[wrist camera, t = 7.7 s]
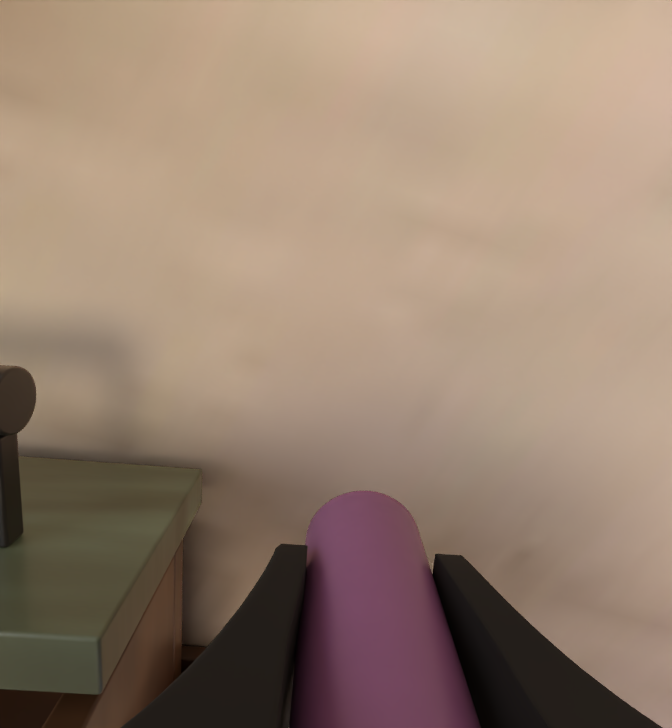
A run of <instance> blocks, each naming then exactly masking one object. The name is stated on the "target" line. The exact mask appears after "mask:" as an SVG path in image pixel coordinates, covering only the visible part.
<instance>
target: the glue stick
mask: <svg viewBox="0 0 672 728" xmlns="http://www.w3.org/2000/svg"><path fill="white" fill-rule="evenodd" d="M305 545H307V546H308V549H307V562H306V575H305V588H304V600H303V606H302V612H301V618H300V624H299V630H298V637H297V645H296V654H295V665H294V677H293V688H292V699H291V710H290V722H289V728H481V726H480V723H479V719H478V716H477V713H476V710H475V707H474V704H473V701H472V697H471V694H470V691H469V688H468V685H467V682H466V679H465V675H464V672H463V669H462V666H461V663H460V660H459V657H458V653H457V650H456V647H455V644H454V641H453V638H452V635H451V632H450V628H449V625H448V622H447V619H446V616H445V613H444V610H443V606H442V603H441V600H440V597H439V594H438V591H437V588H436V584H435V581H434V578H433V575H432V572H431V569H430V566H429V562H428V559H427V556H426V553H425V550H424V547H423V544H422V541H421V537H420V534H419V531H418V528H417V525H416V523H415V520H414V519H413V517H412V515H411V514H410V512H409V511H408V510H407V509H406V508H405V507H404V506H403V505H402V504H401V503H399V502H398V501H397V500H395V499H393V498H391V497H390V496H387V495H385V494H382V493H378V492H373V491H353V492H349V493H345V494H342V495H339V496H337V497H335V498H333V499H331V500H330V501H329V502H327V503H326V504H325V505H323V506H322V507H321V508H320V509H319V510H318V511H317V513H316V514H315V515H314V517H313V518H312V520H311V522H310V524H309V527H308V530H307V534H306V542H305Z"/></svg>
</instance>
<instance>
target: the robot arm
mask: <svg viewBox="0 0 672 728" xmlns="http://www.w3.org/2000/svg"><path fill="white" fill-rule="evenodd" d="M307 549H308V546H307V545H292V544H280V545H279V546H278V547H277V548H276V549H275V552H274V554H273V556H272V558H271V560H270V562H269V564H268V565H267V567H266V569H265V571H264V572H263V574H262V575H261V577H260V579H259V580H258V582H257V583H256V585H255V586H254V588H253V589H252V591H251V592H250V593H249V595H248V596H247V598H246V599H245V601H244V602H243V604H242V605H241V606H240V608H239V609H238V610H237V611H236V613H235V614H234V615H233V616H232V618H231V619H230V620H229V622H228V623H227V624H226V625H225V627H224V628H223V629H222V630H221V632H220V633H219V634H218V635H217V636H216V638H215V639H214V640H213V641H212V642H211V643H210V644H209V646H208V647H207V648H206V649H205V650H204V651H203V652H202V653H201V654H200V655H199V656H198V657H197V658H196V660H195V661H194V662H193V663H192V664H191V665H190V666H189V667H188V668H187V669H186V670H185V671H184V672H183V673H182V674H181V675H180V676H179V677H178V678H177V679H176V680H174V681H173V682H172V683H171V684H170V685H169V686H168V687H167V688H166V689H165V690H164V691H163V692H162V693H161V694H160V695H159V696H158V697H156V698H155V699H154V700H153V701H152V702H151V703H150V704H149V705H147V706H146V707H145V708H144V709H143V710H142V711H140V712H139V713H138V714H137V715H135V716H134V717H133V718H132V719H130V720H129V721H128V722H127V723H126V724H124V725H123V726H122V727H121V728H288V727H289V722H290V710H291V699H292V688H293V677H294V665H295V654H296V645H297V637H298V630H299V624H300V618H301V612H302V606H303V600H304V588H305V575H306V562H307ZM433 578H434V581H435V584H436V588H437V591H438V594H439V597H440V600H441V603H442V606H443V610H444V613H445V616H446V619H447V622H448V625H449V628H450V632H451V635H452V638H453V641H454V644H455V647H456V650H457V653H458V657H459V660H460V663H461V666H462V669H463V672H464V675H465V679H466V682H467V685H468V688H469V691H470V694H471V697H472V701H473V704H474V707H475V710H476V713H477V716H478V719H479V723H480V726H481V728H662V727H661V726H659V725H658V724H656V723H655V722H653V721H652V720H650V719H649V718H647V717H646V716H644V715H643V714H641V713H640V712H638V711H637V710H636V709H634V708H633V707H631V706H630V705H629V704H627V703H626V702H625V701H623V700H622V699H620V698H619V697H618V696H616V695H615V694H614V693H612V692H611V691H610V690H608V689H607V688H606V687H605V686H603V685H602V684H601V683H599V682H598V681H597V680H596V679H594V678H593V677H592V676H590V675H589V674H588V673H586V672H585V671H584V670H583V669H581V668H580V667H579V666H578V665H577V664H575V663H574V662H573V661H572V660H570V659H569V658H568V657H567V656H566V655H565V654H563V653H562V652H561V651H560V650H559V649H558V648H557V647H555V646H554V645H553V644H552V643H551V642H550V641H549V640H548V639H546V638H545V637H544V636H543V635H542V634H541V633H540V632H539V631H538V630H536V629H535V628H534V627H533V626H532V625H531V624H530V623H529V622H528V621H527V620H526V619H525V618H524V617H523V616H522V615H521V614H519V613H518V612H517V611H516V610H515V609H514V608H513V607H512V606H511V605H510V604H509V603H508V602H507V601H506V600H505V599H504V598H503V597H502V596H501V595H500V594H499V593H498V592H497V591H496V590H495V589H494V588H493V587H492V586H491V585H490V584H489V582H488V581H487V580H486V579H485V578H484V577H483V576H482V575H481V574H480V573H479V572H478V571H477V570H476V569H475V568H474V567H473V566H472V565H471V564H470V563H469V562H468V561H467V560H466V559H465V558H464V557H463V556H461V555H445V554H435V561H434V568H433Z"/></svg>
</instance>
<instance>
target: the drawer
mask: <svg viewBox="0 0 672 728" xmlns="http://www.w3.org/2000/svg"><path fill="white" fill-rule="evenodd" d="M35 403H36V387H35V383H34V380H33V377H32V376H31V374H30V373H29V372H28V371H27V370H25V369H24V368H22V367H17V366H5V365H0V728H121V727H122V726H123V725H124V724H126V723H127V722H128V721H129V720H130V719H132V718H133V717H134V716H135V715H137V714H138V713H139V712H140V711H142V710H143V709H144V708H145V707H146V706H147V705H149V704H150V703H151V702H152V701H153V700H154V699H155V698H156V697H158V696H159V695H160V694H161V693H162V692H163V691H164V690H165V689H166V688H167V687H168V686H169V685H170V684H171V683H172V682H173V681H174V680H176V679H177V678H178V677H179V676H180V675H181V649H182V576H183V537H184V535H185V533H186V532H187V530H188V528H189V526H190V524H191V522H192V520H193V518H194V516H195V514H196V513H197V511H198V509H199V507H200V505H201V502H202V470H201V469H191V468H177V467H163V466H149V465H135V464H121V463H107V462H93V461H79V460H65V459H51V458H37V457H23V456H18V441H17V433H18V432H20V431H21V430H22V429H23V428H24V427H25V426H26V425H27V423H28V422H29V420H30V418H31V416H32V414H33V411H34V408H35Z"/></svg>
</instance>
